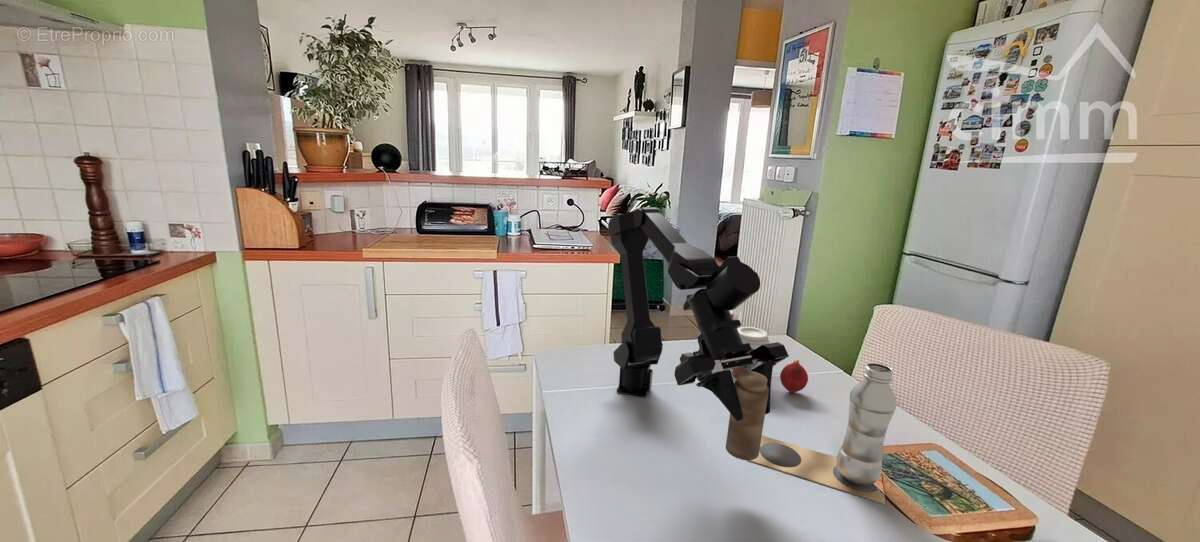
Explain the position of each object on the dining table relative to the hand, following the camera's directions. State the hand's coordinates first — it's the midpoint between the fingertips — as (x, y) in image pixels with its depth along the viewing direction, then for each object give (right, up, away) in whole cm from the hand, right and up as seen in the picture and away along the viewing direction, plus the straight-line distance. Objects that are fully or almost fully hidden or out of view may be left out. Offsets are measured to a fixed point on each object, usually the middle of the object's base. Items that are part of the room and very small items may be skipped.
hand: (753, 416), depth 71 cm
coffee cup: (+12, -4, +42) cm, 44 cm away
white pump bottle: (+10, 0, +57) cm, 58 cm away
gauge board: (+14, -12, +11) cm, 21 cm away
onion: (+20, -6, +36) cm, 42 cm away
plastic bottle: (+20, -13, +8) cm, 25 cm away
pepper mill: (-1, -6, +3) cm, 7 cm away
